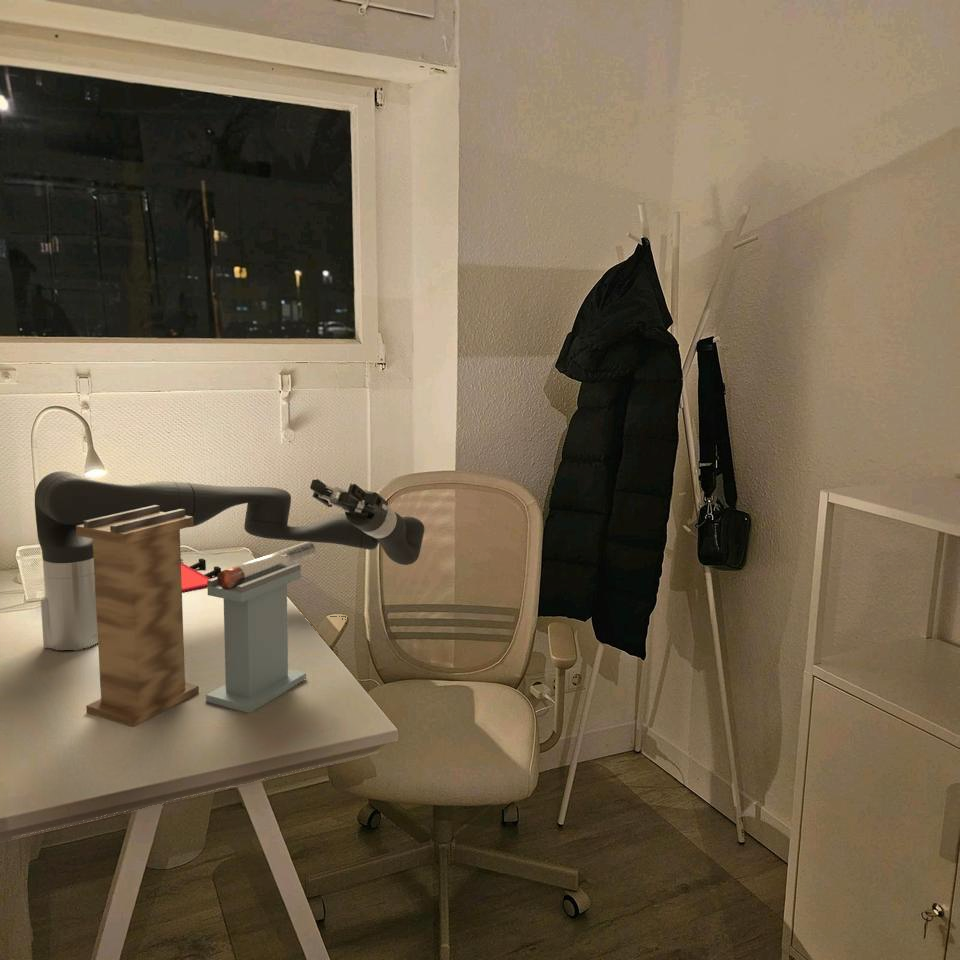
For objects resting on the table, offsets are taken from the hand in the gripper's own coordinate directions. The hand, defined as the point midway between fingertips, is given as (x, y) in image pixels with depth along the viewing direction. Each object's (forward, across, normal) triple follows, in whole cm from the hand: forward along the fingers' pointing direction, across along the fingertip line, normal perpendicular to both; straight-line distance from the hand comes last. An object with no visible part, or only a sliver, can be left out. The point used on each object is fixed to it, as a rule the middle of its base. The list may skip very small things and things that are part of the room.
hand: (331, 485), depth 155 cm
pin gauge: (+9, 0, +20) cm, 22 cm away
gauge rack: (+2, 0, +39) cm, 39 cm away
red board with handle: (-36, -62, +18) cm, 74 cm away
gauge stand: (+13, -13, +45) cm, 49 cm away
